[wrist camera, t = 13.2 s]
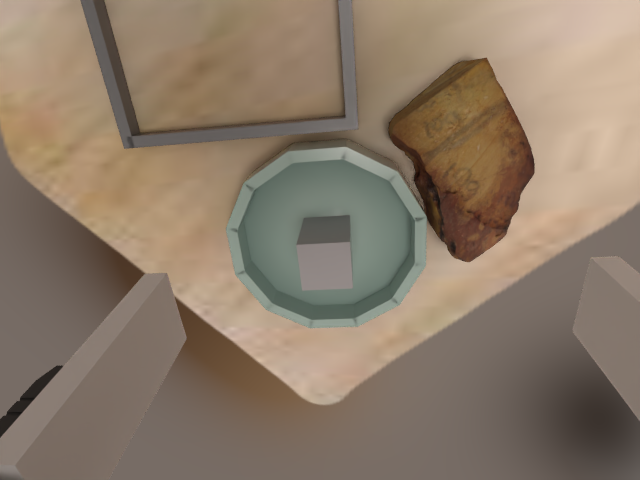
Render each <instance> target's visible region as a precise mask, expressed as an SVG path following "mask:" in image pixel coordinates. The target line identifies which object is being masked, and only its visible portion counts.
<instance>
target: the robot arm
mask: <svg viewBox="0 0 640 480" xmlns="http://www.w3.org/2000/svg"><path fill="white" fill-rule="evenodd" d="M572 331H573V333H574V334H575V335H576V337H577V338H578V339H579V341H580V342H581V343H582V345H583V346H584V347H585V349H586V350H587V351H588V352H589V354H590V355H591V356H592V358H593V359H594V361H595V362H596V363H597V365H598V366H599V367H600V369H601V370H602V371H603V373H604V374H605V375H606V377H607V378H608V379H609V381H610V382H611V383H612V385H613V386H614V387H615V388H616V390H617V391H618V392H619V394H620V395H621V396H622V398H623V399H624V400H625V402H626V403H627V404H628V405H629V407H630V408H631V410H632V411H633V412H634V414H635V415H636V416H637V418H638V419H639V420H640V274H639V273H638V272H637V271H635V270H634V269H633V268H632V267H631V266H629V265H628V264H627V263H626V262H625V261H623V260H622V259H621V258H620V257H591V259H590V262H589V266H588V270H587V275H586V278H585V282H584V286H583V291H582V294H581V298H580V302H579V307H578V311H577V315H576V318H575V322H574V327H573V330H572ZM186 339H187V338H186V335H185V331H184V328H183V325H182V321H181V318H180V315H179V311H178V308H177V305H176V302H175V298H174V295H173V291H172V288H171V285H170V281H169V278H168V275H167V273H155V274H144V276H143V277H142V278H141V279H140V280H139V281H138V283H137V284H136V285H135V286H134V287H133V288H132V290H130V292H129V293H128V294H127V295H126V296H125V297H124V298H123V299H122V301H121V302H120V303H119V304H118V305H117V306H116V307H115V309H114V310H113V311H112V312H111V313H110V314H109V315H108V316H107V318H106V319H105V320H104V321H103V322H102V323H101V324H100V325H99V327H98V328H97V329H96V330H95V331H94V332H93V333H92V335H91V336H90V337H89V338H88V339H87V340H86V341H85V342H84V344H83V345H82V346H81V347H80V348H79V349H78V350H77V352H76V353H75V354H74V355H73V356H72V357H71V358H70V359H69V361H68V362H67V363H66V364H65V365H64V366H56V367H54V368H53V369H52V370H50V371H49V372H47V373H46V374H45V375H43V376H42V377H40V378H39V379H38V380H36V381H35V382H34V383H33V384H32V385H31V387H30V388H29V389H28V390H27V391H26V392H25V393H24V394H23V395H22V396H21V398H20V401H17V402H16V403H15V404H14V405H13V406H12V407H11V408H10V409H9V410H8V411H7V415H6V416H3V417H2V418H1V419H0V480H109V478H110V476H111V474H112V472H113V471H114V469H115V467H116V465H117V463H118V462H119V460H120V458H121V456H122V454H123V453H124V451H125V449H126V447H127V445H128V443H129V442H130V440H131V438H132V436H133V435H134V433H135V431H136V429H137V427H138V425H139V424H140V422H141V420H142V418H143V416H144V415H145V413H146V411H147V409H148V407H149V406H150V404H151V402H152V400H153V398H154V397H155V395H156V393H157V391H158V389H159V388H160V386H161V384H162V382H163V380H164V378H165V377H166V375H167V373H168V371H169V369H170V368H171V366H172V364H173V362H174V360H175V359H176V357H177V355H178V353H179V351H180V349H181V348H182V346H183V344H184V342H185V340H186Z"/></svg>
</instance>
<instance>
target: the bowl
mask: <svg viewBox="0 0 640 480" xmlns="http://www.w3.org/2000/svg"><path fill="white" fill-rule="evenodd" d="M343 215H350V224H351V239H352V255H353V288H352V289H328V290H304V291H302V286H301V278H300V270H299V262H298V255H297V247H296V244H297V240H298V237H299V233H300V230H301V226H302V223H303V219H304V218H310V217H326V216H343ZM426 231H427V216H426V214H425V212H424V210H423V208H422V206H421V204H420V202H419V200H418V199H417V197H416V196H415V194H414V193H413V191H412V189H411V188H410V186H409V185H408V183H407V182H406V180H405V178H404V177H403V175H402V174H401V172H400V171H399V169H398V167H397V166H396V164H395V163H394V162H393V161H391V160H389V159H387V158H385V157H383V156H381V155H379V154H377V153H375V152H373V151H371V150H369V149H367V148H364V147H362V146H360V145H358V144H356V143H354V142H352V141H350V140H348V139H337V140H324V141H312V142H300V143H293V144H291V145H290V146H288V147H287V148H286V149H284V150H283V151H282V152H280V153H279V154H277V155H276V156H275V157H273V158H272V159H270V160H269V161H268V162H266V163H265V164H263V165H262V166H261V167H259V168H258V169H257V170H255V171H254V172H253V173H252V174H251V175H250V176H249V177H248V179H247V180H246V181H245V182H244V184H243V186H242V189H241V191H240V194H239V196H238V199H237V202H236V204H235V207H234V209H233V212H232V214H231V217H230V220H229V222H228V225H227V227H226V232H227V237H228V242H229V246H230V251H231V256H232V261H233V266H234V271H235V275H236V276H237V277H238V278H239V279H240V281H241V282H242V283H243V284H244V285H245V286H246V287H247V289H248V290H249V291H250V292H251V293H252V294H253V295H254V297H255V298H256V299H257V300H258V301H259V302H260V303H261V305H262V306H263V307H264V308H265V309H266V310H268V311H270V312H272V313H275V314H277V315H280V316H282V317H284V318H287V319H289V320H292V321H294V322H296V323H299V324H301V325H304V326H306V327H308V328H331V327H358V326H360V325H362V324H364V323H366V322H368V321H369V320H371V319H373V318H375V317H377V316H379V315H381V314H383V313H385V312H387V311H389V310H391V309H393V308H395V307H396V306H398V305H400V304H401V302H402V301H403V299H404V298H405V296H406V295H407V293H408V292H409V290H410V289H411V287H412V286H413V284H414V283H415V281H416V280H417V278H418V277H419V275H420V274H421V272H422V271H423V269H424V268H425V266H426Z"/></svg>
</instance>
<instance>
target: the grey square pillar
mask: <svg viewBox="0 0 640 480" xmlns="http://www.w3.org/2000/svg"><path fill="white" fill-rule="evenodd" d="M296 247H297V255H298V262H299V270H300V278H301V286H302V291H304V290H328V289H352V288H353V255H352V239H351V224H350V215H343V216H326V217H310V218H304V219H303V223H302V226H301V230H300V233H299V237H298V240H297V244H296Z"/></svg>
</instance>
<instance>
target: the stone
mask: <svg viewBox="0 0 640 480" xmlns="http://www.w3.org/2000/svg"><path fill="white" fill-rule="evenodd" d="M388 131H389V135H390V138H391V140H392V142H393V144H394V145H395V146H396V147H398V148H399V149H401V150H403V151H404V152H405V154H406V155H407V156H408V157H409V158H410V159H411V160H412V161H413V162H414V168H415V171H416V175H415V184H416V187H417V189H418V190H419V192H420V194H421V196H422V199H423V202H424V210H425V214H426V216H427V219H428V221H429V223H430V225H431V226H432V228H433V229H434V230H435V232H436V234H437V236H438V237H439V238H440V239H441V240H442V241H443V242H445V244H446V245H447V248H448V251H449V252H450V254H451V255H452V256H453V257H454V258H456V259H460V260H462V261H465V262H471V261H472V260H474V259H475V258H476V257H478V256H480V255H481V254H483V253H484V252H485V251H486V250H488V249H490V248H491V247H493V246H494V245H495V244H496V243H497V242H499V241H500V240H501V239H502V238H503V237H504V236H505V235H506V233H507V230H508V227H509V225H510V222H511V218H512V216H513V215H514V214H515V213H516V212H517V210H518V206H519V203H518V202H519V200H520V195H521V193H522V191H523V189H524V188H525V186H526V185H527V183H528V182H529V181H530V179H531V178H532V176H533V175H534V158H533V155H532V151H531V147H530V144H529V142H528V139H527V137H526V135H525V133H524V130H523V128H522V126H521V124H520V122H519V120H518V118H517V116H516V114H515V112H514V110H513V108H512V106H511V104H510V102H509V101H508V99H507V97H506V95H505V93H504V91H503V89H502V87H501V86H500V84H499V83H498V81H497V80H496V77H495V74H494V72H493V69H492V67H491V66H490V64H489V62H488V60H487V58H482V59H476V60H470V61H463V62H459V63H457V64H455V65H453V66H452V67H451V68H450V69H449V70H448V71H446V72H445V73H444V74H443V75H442V76H440V77H439V78H438V79H437V80H435V81H434V82H433V83H432V84H431V85H430V86H429V87H428V88H427V89H425V90H424V91H423V92H422V93H421V94H420V95H419V96H417V97H416V98H415V99H413V100H412V101H411V102H410V104H409V105H408V106H407V107H405V108H404V109H403V110H401V111H400V112H399V113H397V114H396V115H395V116H394V118H393V119H392V121H391V122H390V125H389V130H388Z"/></svg>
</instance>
